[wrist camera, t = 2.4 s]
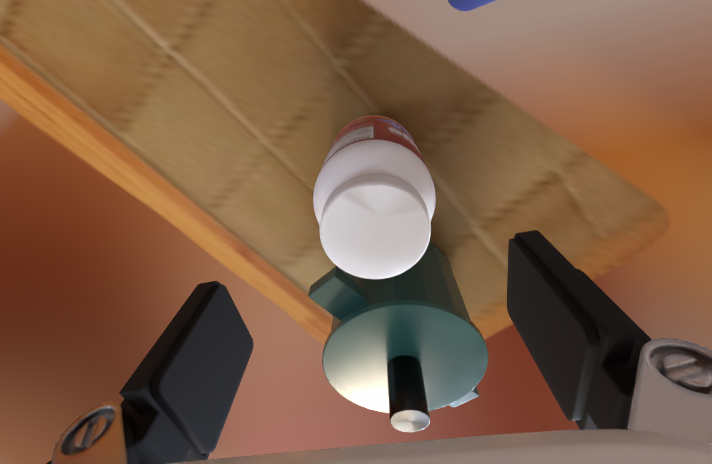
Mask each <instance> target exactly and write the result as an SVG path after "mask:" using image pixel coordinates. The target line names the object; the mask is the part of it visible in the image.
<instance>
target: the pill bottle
mask: <svg viewBox="0 0 712 464" xmlns="http://www.w3.org/2000/svg"><path fill="white" fill-rule="evenodd" d="M435 202H436V195H435V188H434V184H433V180H432V177H431V175H430V172H429V170H428V168H427V166H426V164H425V162H424V160H423V158H422V156H421V154H420V152H419V150H418V148H417V146H416V144H415V142H414V140H413V138H412V137H411V135H410V134H409V132H408V131H407V130H406V129H405V128H404V127H403V126H402V125H401V124H399V123H398V122H396V121H395V120H393V119H390V118H388V117H384V116H379V115H369V116H364V117H360V118H357V119H355V120H353V121H351V122H350V123H348V124H347V125H346V126H345V127H344V128H343V129H342V130H341V131H340V132H339V133H338V135H337V136H336V138H335V140H334V142H333V144H332V146H331V148H330V151H329V153H328V155H327V157H326V160H325V162H324V164H323V167H322V169H321V171H320V173H319V175H318V178H317V180H316V184H315V188H314V193H313V206H314V211H315V215H316V218H317V221H318V223H319V225H320V239H321V243H322V246H323V248H324V250H325V252H326V254H327V255H328V257H329V258H330V259H331V261H332V262H333V263H334V264H335V265H337V266H338V267H339V268H341V269H342V270H344V271H345V272H347V273H349V274H352V275H354V276H357V277H361V278H367V279H383V278H389V277H393V276H396V275H399V274H401V273H403V272H405V271H407V270H408V269H410V268H411V267H412V266H414V265H415V264H416V263H417V262H418V261H419V260H420V258H421V257H422V256H423V254H424V253H425V251H426V249H427V246H428V244H429V240H430V235H431V223H430V222H431V219H432V216H433V213H434V209H435Z"/></svg>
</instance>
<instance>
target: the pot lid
mask: <svg viewBox="0 0 712 464" xmlns="http://www.w3.org/2000/svg"><path fill="white" fill-rule="evenodd" d="M322 362H323V369H324V372H325V375H326V377H327V379H328V381H329V382H330V384H331V385H332V386H333V387H334V389H335V390H336V391H337V392H339V393H340V394H341V395H342V396H344V397H345V398H346V399H348V400H350V401H351V402H353V403H356V404H358V405H360V406H362V407H365V408H368V409H371V410H375V411H380V412H387V413H390V423H391V425H392V426H393V427H394V428H395V429H397V430H400V431H404V432H416V431H420V430H422V429H424V428H426V427H427V426H428V425H429V423H430V417H429V411H431V410H435V409H438V408H441V407H444V406H447V405H449V404H452V403H454V402H456V401H457V400H459V399H461V398H462V397H464V396H465V395H467V394H468V393H469V392H471V391H472V390H473V389H474V388H475V387H476V386H477V385H478V383H479V382H480V380H481V379H482V377H483V376H484V373H485V371H486V368H487V364H488V350H487V347H486V344H485V341H484V338H483V336H482V334H481V332H480V331H479V329H478V328H477V327H476V326H475V324H474V323H473V322H472V321H470V320H469V319H468V318H467V317H466V316H464V315H463V314H461V313H459V312H458V311H456V310H454V309H452V308H450V307H447V306H445V305H441V304H438V303H435V302H430V301H425V300H414V299H399V300H390V301H384V302H379V303H375V304H372V305H369V306H366V307H364V308H362V309H359V310H357V311H355V312H353V313H352V314H350V315H348V316H347V317H346V318H344V319H343V320H342V321H341V322H339V323H338V324H337V326H336V327H335V328H334V329H333V330H332V332H331V333H330V334H329V336H328V338H327V340H326V342H325V346H324V350H323V360H322Z"/></svg>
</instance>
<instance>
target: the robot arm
mask: <svg viewBox="0 0 712 464" xmlns="http://www.w3.org/2000/svg"><path fill="white" fill-rule="evenodd" d="M507 310H508V313H509V316H510V318H511V320H512V321H513V323H514V325H515V327H516V329H517V330H518V332H519V334H520V335H521V337H522V339H523V341H524V343H525V345H526V346H527V348H528V350H529V352H530V353H531V355H532V357H533V359H534V361H535V363H536V364H537V366H538V368H539V370H540V371H541V373H542V375H543V377H544V379H545V381H546V382H547V384H548V386H549V388H550V389H551V391H552V393H553V395H554V397H555V398H556V400H557V402H558V404H559V405H560V407H561V409H562V411H563V413H564V414H565V416H566V417H567V419H568V420H570V421H573V420H575V421H576V423H577V425H578V427H579V428H580V430H562V431H548V432H531V433H517V434H501V435H488V436H476V437H463V438H451V439H439V440H426V441H414V442H402V443H390V444H379V445H367V446H355V447H344V448H332V449H320V450H310V451H297V452H286V453H275V454H264V455H253V456H242V457H231V458H221V459H210V460H207V458H208V456H209V453H211V452H212V451H213V450H214V449H215V447H216V445H217V442H218V440H219V437H220V434H221V431H222V429H223V426H224V424H225V421H226V419H227V416H228V413H229V411H230V408H231V405H232V403H233V400H234V398H235V395H236V392H237V390H238V387H239V384H240V382H241V379H242V377H243V374H244V371H245V369H246V366H247V363H248V361H249V358H250V355H251V353H252V350H253V339H252V337H251V335H250V333H249V331H248V329H247V327H246V325H245V324H244V322H243V320H242V318H241V316H240V314H239V312H238V310H237V308H236V306H235V304H234V302H233V300H232V298H231V296H230V294H229V292H228V290H227V288H226V287H225V286H224V285H222V284H220V283H219V282H217V281H213V282H207V283H201V284H199V285H197V287H196V288H195V289H194V291H193V292H192V293H191V295H190V296H189V298H188V299H187V300H186V302H185V303H184V305H183V306H182V307H181V309H180V310H179V311H178V313H177V314H176V315H175V317H174V318H173V320H172V321H171V322H170V324H169V325H168V326H167V328H166V329H165V331H164V332H163V333H162V335H161V336H160V337H159V339H158V340H157V342H156V343H155V344H154V346H153V347H152V348H151V350H150V351H149V353H148V354H147V355H146V357H145V358H144V359H143V361H142V362H141V364H140V365H139V366H138V368H137V369H136V370H135V372H134V373H133V375H132V376H131V377H130V379H129V380H128V382H127V383H126V384H125V386H124V387H123V388H122V390H121V391H120V394H121V395H122V396H123V397H124V400H123V402H122V403H121V405H120V404H118V403H116V402H106V403H103V404H99V405H97V406H95V407H93V408H91V409H89V410H88V411H86V412H85V413H84V414H82V415H81V416H79V417H78V418H77V419H76V420H75V421H74V422H73V423H71V424H70V425H69V426H68V428H67V429H66V430H65V431H64V432H63V433H62V434H61V436H60V438H59V439H58V441H57V442H56V444H55V448H54V450H53V455H52V460H51V461H50V462H48V463H47V464H712V351H711V350H709V349H707V348H705V347H702V346H700V345H697V344H694V343H691V342H687V341H683V340H678V339H667V338H661V339H656V340H652V339H651V338H650V337H649V336H647V334H645V332H644V331H643V330H641V329H640V328H639V327H638V326H637V325H636V324H635V323H634V322H633V321H632V320H631V319H630V318H629V317H628V316H627V315H626V314H625V313H624V312H623V311H622V310H621V309H620V308H619V307H618V306H617V305H616V304H615V303H614V302H613V301H612V300H611V299H610V298H609V297H608V296H607V295H606V294H605V293H604V292H603V291H602V290H601V289H600V288H599V287H598V286H597V285H596V284H595V283H594V282H593V281H592V280H591V279H590V278H589V277H588V276H587V275H586V274H585V273H584V272H582V271H581V270H579V269H576V268H575V267H574V266H573V265H572V264H571V263H570V262H569V261H568V260H567V259H566V258H565V257H564V256H563V255H562V254H561V253H560V252H559V251H558V250H557V249H556V248H555V247H554V246H553V245H552V244H551V243H550V242H549V241H548V240H547V239H546V238H545V237H544V236H543V235H542V234H541V233H540V232H539V231H537V230H534V231H528V232H522V233H517V234H515V237H514V239H510V240H509V252H508V283H507Z"/></svg>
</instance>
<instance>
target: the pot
mask: <svg viewBox="0 0 712 464" xmlns="http://www.w3.org/2000/svg"><path fill="white" fill-rule="evenodd" d="M308 296H309V297H310V298H311V299H313V300H314V301H315V302H317V303H318V304H319V305H320V306H322V307H323V308H324V309H326V310H327V311H328V312H329V313H331V314H332V315H333V321H332V329H331V332H332V330H333V329H334V328H335V327H336V326H337V324H338V323H339V322H341V321H342V320H343V319H344V318H346V317H347V316H348V315H350V314H352V313H353V312H355V311H357V310H359V309H362V308H364V307H366V306H369V305H372V304H375V303H379V302H384V301H390V300H399V299H414V300H425V301H430V302H435V303H438V304H441V305H445V306H447V307H450V308H452V309H454V310H456V311H458V312H459V313H461V314H463V315H464V316H466V317H467V318H468V319H469V320H470V318H469V315H468V312H467V310H466V307H465V304H464V302H463V299H462V296H461V294H460V291H459V288H458V286H457V283H456V280H455V278H454V275H453V272H452V270H451V267H450V264H449V262H448V259H447V258H446V257H445V255H444V254H443V253H442V251H441V250H440V249H439V248H438V247H437V246H435V245H434V244H433V243H431V242H430V241H429V244H428V246H427V249H426V251H425V253H424V254H423V256H422V257H421V258H420V260H419V261H418V262H417V263H416V264H415V265H414V266H412V267H411V268H410V269H408V270H407V271H405V272H403V273H401V274H399V275H396V276H393V277H389V278H383V279H367V278H361V277H357V276H354V275H352V274H349V273H347V272H345V271H344V270H342V269H341V270H340V269H339V268H338V267H335V268H333V269H332V270H331V271H330V272H328V273H327V274H326V275H324V276H323V277H322V278H321V279H319V280H318V281H317V282H315V283H314V284H313V285H312V286H311V287H310V291H309V295H308ZM470 321H471V320H470ZM478 396H479V393H478V390H477V387H475V388H474V389H473V390H472V391H471V392H469V393H468V394H467V395H465V396H464V397H462V398H461V399H459V400H457V401H456V402H454V403H452V404H449V405H450V406H451V407H456V406H458V405H460V404H462V403H464V402H467V401H469V400H471V399H473V398H475V397H478Z"/></svg>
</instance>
